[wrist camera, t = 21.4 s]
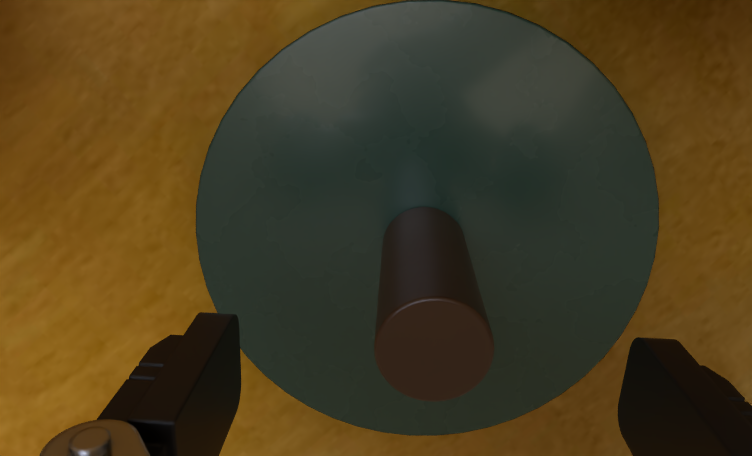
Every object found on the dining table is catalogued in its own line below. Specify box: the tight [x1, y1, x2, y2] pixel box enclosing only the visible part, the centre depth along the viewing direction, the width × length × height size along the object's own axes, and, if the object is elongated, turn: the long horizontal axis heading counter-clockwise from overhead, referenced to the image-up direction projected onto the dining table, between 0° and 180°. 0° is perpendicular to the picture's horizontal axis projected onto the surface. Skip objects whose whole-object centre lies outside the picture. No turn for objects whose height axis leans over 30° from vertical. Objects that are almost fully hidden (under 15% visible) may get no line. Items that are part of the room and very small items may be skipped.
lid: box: [196, 0, 659, 435], centre depth 17 cm, size 15×15×8 cm
